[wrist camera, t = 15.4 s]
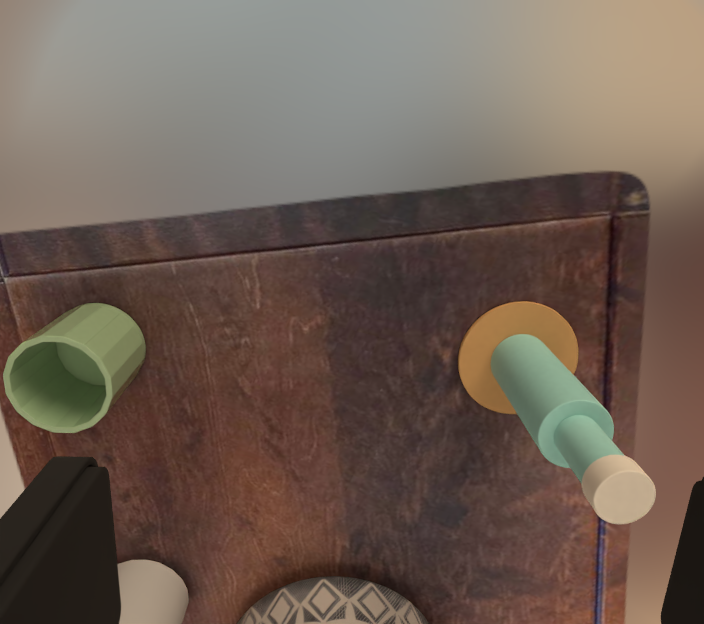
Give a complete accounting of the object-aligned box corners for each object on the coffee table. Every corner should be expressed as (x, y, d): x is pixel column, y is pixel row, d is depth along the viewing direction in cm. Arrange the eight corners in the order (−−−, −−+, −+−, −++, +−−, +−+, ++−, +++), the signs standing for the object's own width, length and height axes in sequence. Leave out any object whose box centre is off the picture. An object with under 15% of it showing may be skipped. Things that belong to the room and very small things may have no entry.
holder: (49, 301, 42) (-4, 334, 36) (143, 304, 43) (107, 337, 36) (59, 385, 44) (11, 431, 38) (148, 387, 45) (115, 434, 38)
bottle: (493, 332, 44) (587, 456, 27) (552, 334, 44) (679, 458, 28) (487, 387, 45) (572, 536, 29) (544, 388, 45) (660, 538, 29)
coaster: (463, 299, 43) (465, 300, 43) (585, 303, 43) (587, 304, 43) (452, 410, 46) (453, 412, 45) (566, 413, 46) (568, 415, 46)
